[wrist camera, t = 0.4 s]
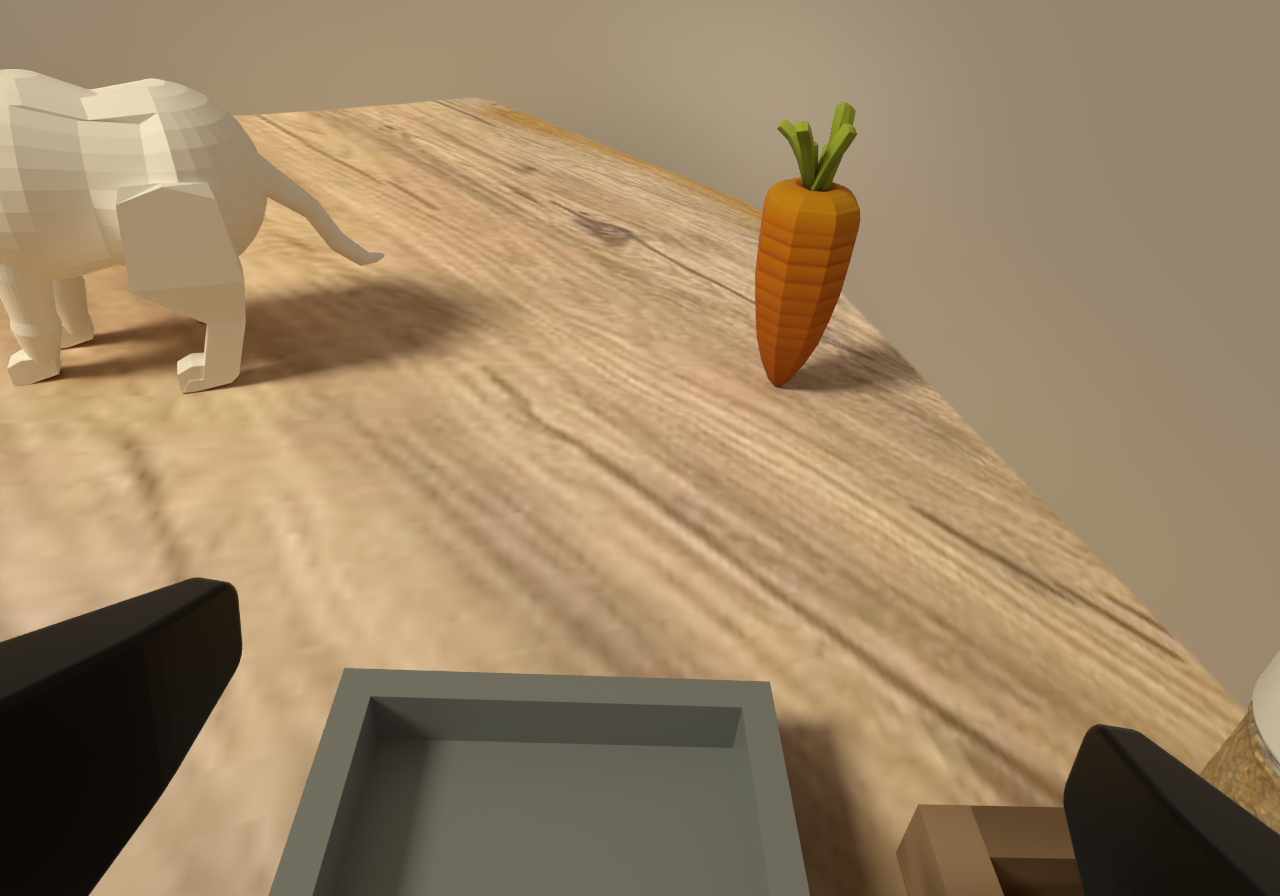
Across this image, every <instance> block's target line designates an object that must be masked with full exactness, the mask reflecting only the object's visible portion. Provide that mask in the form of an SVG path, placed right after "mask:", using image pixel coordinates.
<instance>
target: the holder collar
mask: <svg viewBox="0 0 1280 896" xmlns="http://www.w3.org/2000/svg"><path fill="white" fill-rule="evenodd" d="M896 854H897V858H898V861H899V865H900V868H901V872H902V875H903V879H904V882H905V886H906V889H907V893H908V896H1084V894H1083V890H1082V886H1081V881H1080V877H1079V873H1078V868H1077V864H1076V859H1075V855H1074V851H1073V846H1072V842H1071V838H1070V833H1069V829H1068V825H1067V820H1066V816H1065V811H1064V808H1055V807H1010V806H966V805H921V804H918V806H917V809H916V811H915V813H914V815H913V817H912V819H911V822H910V824H909V826H908V828H907V830H906V832H905V834H904V837H903V839H902V841H901V843H900V845H899V847H898V850H897V852H896Z"/></svg>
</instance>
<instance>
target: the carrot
mask: <svg viewBox="0 0 1280 896" xmlns="http://www.w3.org/2000/svg"><path fill="white" fill-rule="evenodd" d="M854 116H855V110H854V108H853V107H852V106H851V105H849V104H848V103H839V104H838V105H837V107H836V111H835V115H834V119H833V123H832V128H831V133H830V138H829V143H828V144H827V145H825V146H824V148H823V151H822V154H821V157H820V160H819V163H818V144H817V143H816V142H814V141H813V137H812V132H811V128H810V125H809V123H808V122H798V123H796V126H795V127H794V125H792V124H791V123H790V122H789V121H788V120H784V121H782V122H781V123H780V125H779V127H778V130H779V131H780V132H781V133H782V134H783V135H784V136H785V137H786V139H788V141H789V143H790V145H791V147H792V149H793V152H794V154H795V156H796V159H797V162H798V165H799V169H800V173H801V177H799V178H794V179H789V180H785V181H782V182H778V183H776V184H775V185H774V186H772V187H771V188H770V189H769V191H768V193H767V195H766V198H765V201H764V207H763V214H762V221H761V229H760V236H759V244H758V253H757V263H756V272H755V306H756V331H757V341H758V346H759V351H760V356H761V360H762V363H763V366H764V368H765V371H766V374H767V377H768V379H769V380H770V381H771V383H772V384H773V385H774V386H776V387H778V386H780V385H782V384H784V383H786V382H788V381H789V380H790V379H791V378H792V377H793V376H794V375H795V374H796V372H797V371H798V370H799V369H800V368H801V367H802V366H803V365H804V364H805V362H806V361H807V359H808V358H809V356H810V355H811V354H812V352H813V351H814V349H815V348H816V346H817V345H818V343H819V341H820V339H821V337H822V335H823V333H824V331H825V329H826V326H827V324H828V322H829V320H830V318H831V315H832V313H833V311H834V308H835V306H836V304H837V301H838V299H839V297H840V293H841V290H842V287H843V283H844V280H845V276H846V273H847V270H848V266H849V263H850V259H851V255H852V251H853V248H854V244H855V240H856V236H857V233H858V229H859V224H860V209H859V206H858V203H857V201H856V198H855V196H854V195H853V193H852V192H851V191H850V190H849V189H848V188H846V187H844V186H841V185H839V184H836V183H833V182H832V181H833V178H834V176H835V173H836V171H837V168H838V166H839V164H840V161H841V159H842V156H843V154H844V153H845V151H846V150H847V148H848V147H849V146H850V144H851V143H852V141H853V140H854V138H855V137H856V135H857V133H856V130H855V128H854V127H853V121H854Z"/></svg>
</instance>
